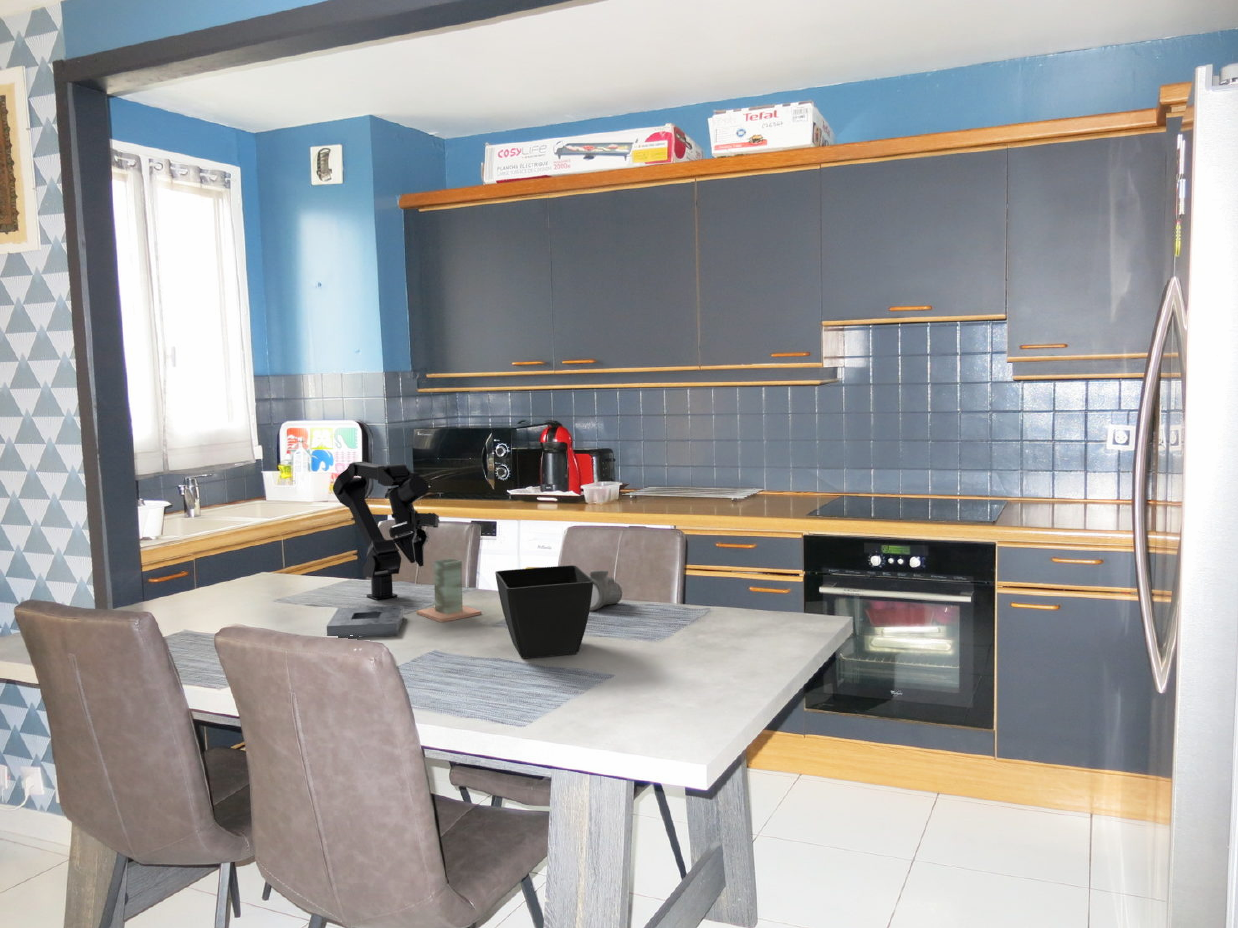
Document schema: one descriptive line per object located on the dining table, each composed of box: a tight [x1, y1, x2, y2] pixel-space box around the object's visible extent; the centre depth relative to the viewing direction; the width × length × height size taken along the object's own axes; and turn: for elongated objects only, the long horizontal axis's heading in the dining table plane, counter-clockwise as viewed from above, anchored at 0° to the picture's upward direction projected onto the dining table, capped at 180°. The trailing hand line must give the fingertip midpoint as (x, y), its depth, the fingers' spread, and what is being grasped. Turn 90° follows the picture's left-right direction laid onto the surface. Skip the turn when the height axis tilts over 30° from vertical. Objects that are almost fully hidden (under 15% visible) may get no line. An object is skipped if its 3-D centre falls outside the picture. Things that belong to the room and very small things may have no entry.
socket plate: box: [326, 605, 404, 639], centre depth 237 cm, size 18×16×3 cm
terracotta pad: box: [415, 605, 482, 623], centre depth 250 cm, size 12×12×1 cm
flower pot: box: [495, 564, 593, 659], centre depth 216 cm, size 19×19×17 cm
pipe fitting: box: [588, 569, 623, 612], centre depth 257 cm, size 12×8×10 cm, turn 142°
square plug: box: [433, 558, 464, 614], centre depth 250 cm, size 5×5×13 cm
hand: (417, 564), depth 257 cm, fingers open, 9 cm apart
